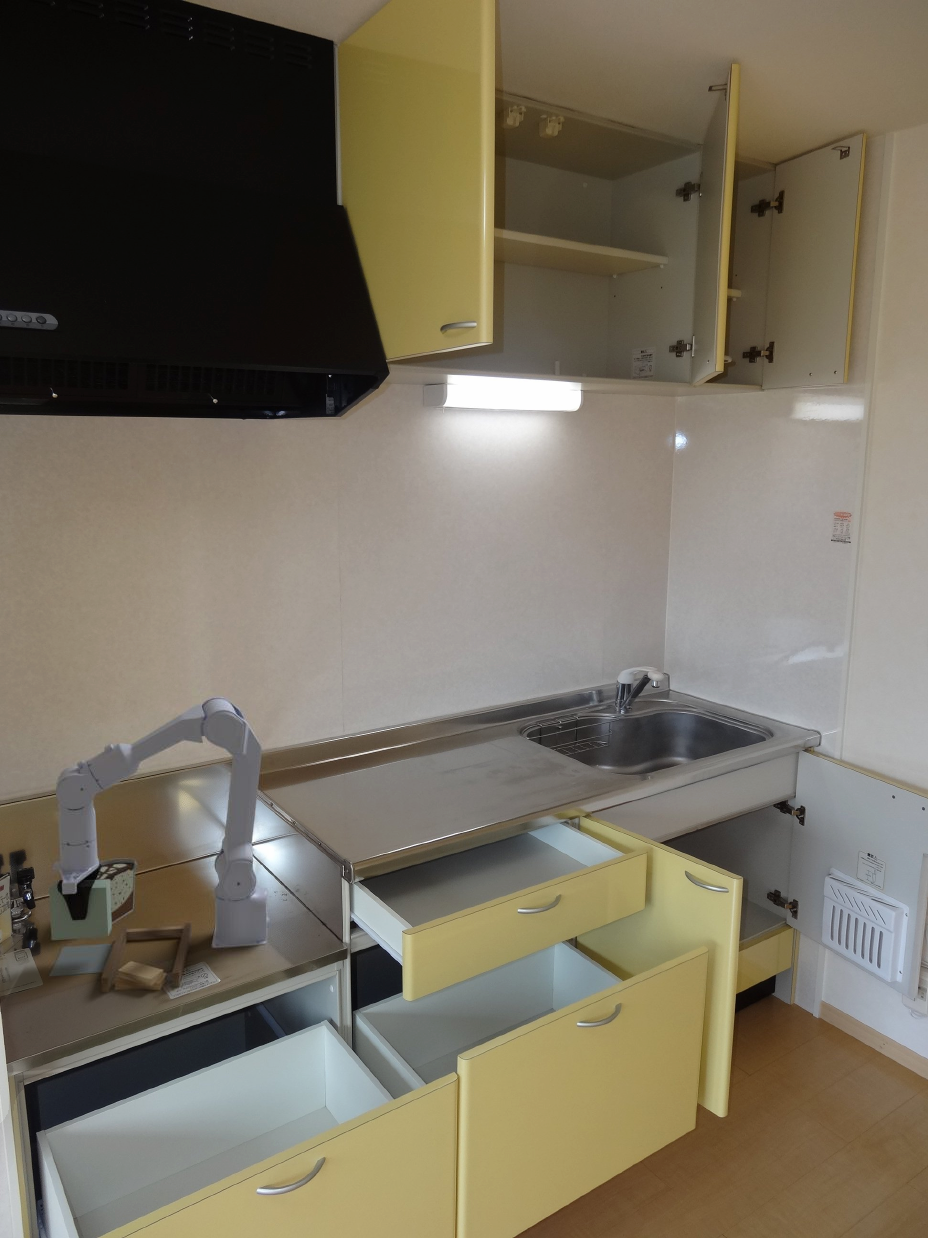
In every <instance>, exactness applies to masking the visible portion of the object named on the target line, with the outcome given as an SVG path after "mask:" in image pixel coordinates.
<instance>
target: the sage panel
mask: <svg viewBox="0 0 928 1238" xmlns="http://www.w3.org/2000/svg"><path fill="white" fill-rule="evenodd" d="M85 881H93V880H85ZM58 882H59V881H54V882H53V883H52V884H51V886H50V888H49V890H48V897H49V913H50V933H51V941H60V940H63V941H64V940H77V939H78V940H79V939H94V938H95V939H97V938H108V937H109V936H110V933H111V931H112V929H113V924H112V918H111V894H110V879H104V880H95V882H94V884H93V886H92V889H91V892H90V896H89V902H88V912H87V916H86V919H85V920H74V921H73V920H72V918H71V915H70V912H69V909H68V906H67V904H66V901H65V899H64V898H63V896H62V895H61V894H60V893H59V891H58V889H57V884H58Z"/></svg>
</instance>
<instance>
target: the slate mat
mask: <svg viewBox="0 0 928 1238" xmlns="http://www.w3.org/2000/svg"><path fill="white" fill-rule="evenodd" d="M113 946H114V943H101V944H85V945H70V946H62V948H61V951H60V953H59V955H58V957H57V959H56V960H55V963H54V965H53V967H52V968H51V970H50V973H49V974H48V977H61V976H77V975H90V974H92V975H93V974H103V972H104V969H105V966H106V964H107V961H108V959H109V956H110V953H111V951H112V948H113Z"/></svg>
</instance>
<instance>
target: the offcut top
mask: <svg viewBox="0 0 928 1238" xmlns="http://www.w3.org/2000/svg"><path fill="white" fill-rule="evenodd" d="M163 973H164V969H162V968H161V969H160V968H157V967H154V966H149V965H147V964H143V963H139V962H136V961H135V962H134V961H132V960H130V961H129V962H127V963H126V964H125V965H123V966H122V967H120V968H119V969H117V976H118V977H120V978H124V979H127V980H131V981H134V982H138V983H141V984H145V985H149V986H152V985H154V984H155V983H156V982H157V981H158V980H160V979H161V978H162V977H163Z"/></svg>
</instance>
